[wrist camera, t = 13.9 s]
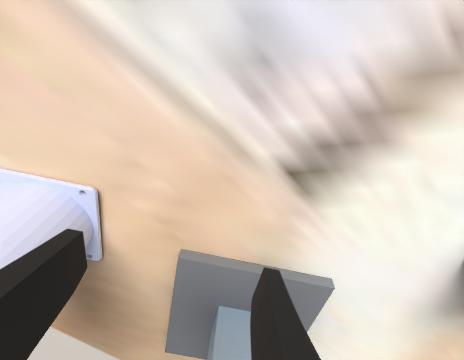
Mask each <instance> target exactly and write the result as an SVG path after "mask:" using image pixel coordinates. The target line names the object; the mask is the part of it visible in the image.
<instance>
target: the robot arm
mask: <svg viewBox="0 0 464 360" xmlns="http://www.w3.org/2000/svg"><path fill="white" fill-rule="evenodd" d="M83 191H84V192H85V193H84V192H83ZM101 258H102V243H101V230H100V216H99V202H98V192H97V190H96V189H94V188H93V187H89V186H84V185H79V184H74V183H69V182H65V181H60V180H55V179H50V178H45V177H40V176H35V175H30V174H26V173H21V172H16V171H11V170H6V169H1V168H0V360H27V359H28V357H29V356H30V354H31V353H32V351H33V350H34V348H35V347H36V346H37V344H38V343H39V341H40V340H41V338H42V337H43V336H44V334H45V333H46V331H47V330H48V329H49V327H50V326H51V324H52V323H53V322H54V320H55V319H56V317H57V316H58V314H59V313H60V312H61V310H62V309H63V307H64V306H65V304H66V303H67V302H68V300H69V299H70V297H71V296H72V294H73V293H74V291H75V289H76V287H77V286H78V284H79V282H80V280H81V278H82V277H83V275H84V273H85V271H86V269H87V260H86V259H88V260H94V261H99V260H100V259H101ZM250 337H251V360H321V359H320V357H319V355H318V353H317V352H316V350H315V348H314V346H313V344H312V342H311V340H310V338H309V336H308V334H307V332H306V330H305V328H304V326H303V324H302V322H301V320H300V318H299V315H298V313H297V311H296V309H295V307H294V304H293V302H292V300H291V297H290V295H289V293H288V290H287V288H286V285H285V283H284V280H283V278H282V275H281V273H280V271H279V270H276V269H271V268H266V267H264V269H263V271H262V274H261V276H260V279H259V281H258V284H257V286H256V289H255V291H254V294H253V297H252V301H251V317H250Z"/></svg>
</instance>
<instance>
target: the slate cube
mask: <svg viewBox="0 0 464 360" xmlns="http://www.w3.org/2000/svg"><path fill="white" fill-rule="evenodd" d="M250 317H251V312H250V311H245V310H239V309H234V308H228V307H223V306H219V307H218V310H217V314H216V317H215V321H214V324H213V328H212V331H211V336H210V343H209V350H208V358H207V360H251V337H250Z"/></svg>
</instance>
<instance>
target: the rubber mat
mask: <svg viewBox="0 0 464 360" xmlns="http://www.w3.org/2000/svg"><path fill="white" fill-rule="evenodd" d="M264 267H266V268H271V269H276V270H279V271H280V273H281V275H282V278H283V280H284V283H285V285H286V288H287V290H288V293H289V295H290V297H291V300H292V302H293V304H294V307H295V309H296V311H297V313H298V315H299V318H300V320H301V322H302V324H303V326H304V328H305V330H306V332H307V331H308V330H309V328H310V326H311V325H312V323H313V322H314V320H315V319H316V317H317V315H318V314H319V312H320V311H321V309H322V308H323V306H324V304H325V303H326V301H327V300H328V298H329V297H330V295H331V293H332V292H333V290H334V289H335V288H334V285H333V281H332V279H329V278H324V277H319V276H314V275H309V274H304V273H299V272H294V271H289V270H284V269H279V268H274V267H269V266H264V265H258V264H253V263H248V262H243V261H238V260H233V259H228V258H223V257H218V256H213V255H208V254H203V253H198V252H193V251H188V250H182V249H181V251H180V254H179V257H178V263H177V270H176V277H175V284H174V291H173V298H172V305H171V313H170V320H169V327H168V334H167V341H166V348H165V352H167V353H172V354H178V355H184V356H189V357H195V358H200V359H206V360H207V358H208V350H209V343H210V336H211V331H212V328H213V324H214V321H215V317H216V314H217V310H218V307H219V306H223V307H228V308H234V309H239V310H245V311H250V312H251V301H252V297H253V294H254V291H255V289H256V286H257V284H258V281H259V279H260V276H261V274H262V271H263V269H264Z"/></svg>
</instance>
